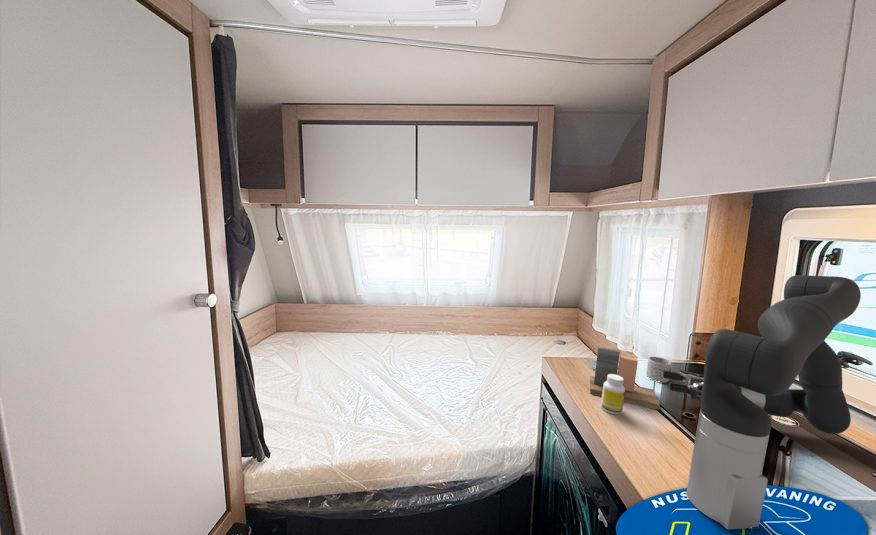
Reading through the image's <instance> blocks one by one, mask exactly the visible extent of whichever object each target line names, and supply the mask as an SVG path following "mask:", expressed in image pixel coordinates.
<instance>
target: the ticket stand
mask: <svg viewBox="0 0 876 535" xmlns="http://www.w3.org/2000/svg"><path fill="white" fill-rule="evenodd" d="M596 352H597V353H596V360H595V361H596V369H595V368H594V369H595V371H594V376H593V375H590V377H589V394H591V395H596V396H598V397H599V396H600V397H602V392H603V384H604V382H606V381H607V376H608V374H615V375H617V374H618V366H619V358H620V356H621V351H620V350H618V349H614V348H608V347H603V346H597V351H596ZM624 402H625V403H629V404H633V405H637V406H642V407H646V408H650V409H654V410H658V411H659V410H660V407H661V405H660V402H659V399H658V397H657V395H656V392H655V391H654V389H652V388H648V387H644V386H638V385H635V386H634V392H631V391H626V390H625V394H624V401H623V403H624Z"/></svg>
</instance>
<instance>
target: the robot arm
mask: <svg viewBox="0 0 876 535" xmlns="http://www.w3.org/2000/svg"><path fill="white" fill-rule="evenodd" d="M861 295H862V294H861V289H860V287H859V284H857V282H855V281H854V280H853V279H851V278H848V277H843V276H829V275H828V276H827V275H805V274H804V275H803V274H802V275H800V274H799V275H792V276H790V277H789V278H788V279H787V280H786V282H785V284H784V289H783V299H782V300H780V301H778V302H775V303H774V304H772V305H771V306H770V307H768V308H767V309H765V310H764V312H763V313H762V314H761V315H760V316H759V317H758V320H757V328H758V332H759V334H760V336H758V335H755V334H749V333H745V332H741V331H737V330H733V329H726V328H721V329H718V330H716V331H714V333H712V335H711V337H710V339H709V341H708V344H707V347H706V352H705V359H704V367H703V368H704V369H703V374H701V373H700V374H699V373H695V372H690V371H687V370H686V371H685V370H679V371H678V372H675V371H666V370H665V371H663V377H664V378H667V379H669V380H671V381H669V383H668V384H669V385H668V388H669V390H670V391H673V392H677V393H680V394H681V393H682V394H685V395H687V396H690V399H692V400H696V401H701V402H700V409H699V415H698V419H697V420H698V422H697V427H696V432H695V438H694V444H693V450H692V455H691V462H690V468H689V473H688V482H687V486H686V496H687V498H688V500H689V501H690V502H691V504H692V505H693V506H694V507H695V508H696V509H697V510H698V511H700V512H701V513H703V515H705V516H707V517H708V518H710V519H711V520H714V521H715V522H717V523H719V524H720V525H721V526H723V527H724V528H725V529H726V530H744V529H745V530H747V529H746V528H748V529H752V528H751V527H757V526H758V527H759V526H760V520H761V515H762V511H763V507H764V501H765V496H766V491H767V486H768V478H767V477H766V476H764V474H762V473H763V468H764V464H765V459H766V458H765V457H766V453H767V447H768V443H769V438H770V434H771V428H772V423H773V422H772V419H771V416H774V417H780V418H787V417H790V416H791V415H792V414H793V412H796V413H799V414H802V415H803V417H804V418H805V419H806V420H807V422H808V423H809V424H810V425H811V426H812V427H814V428H815V429H816V430H818V431H821V432H823V433H825V434H830V435H838V434H839V435H840V434H842V433H844V432H845V431H847V429H849V427H850V425H851V420H852V419H851V412H850V408H849V405H848V402H847V400H846V396H845V394H844V391H843V366H842V362H841V360H840V357H839V356H838V355H837V353H836V352H835V351H834V350H833V348H832V347H831V346H830V345H829V344H828V343H827V341H826V339H827V337H829V335H830V334H831V333H832V332H833V329H834V328H835V327H836V326H837V325H839V324H840V323H842V322H843V321H844V320H846V319H848V318H849V317H851V316H852V315H853V314H854V313H855V312H856V310H857V309H858V307H859V305H860V301H861V297H862V296H861ZM797 377H798V382H799V386H801V388H802V389H800V388H798V389H795V388H792V389H791V386H792V385H793V384H794V382H795V380H796V379H797ZM674 381H678V382H680V383H678V382H674Z"/></svg>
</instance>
